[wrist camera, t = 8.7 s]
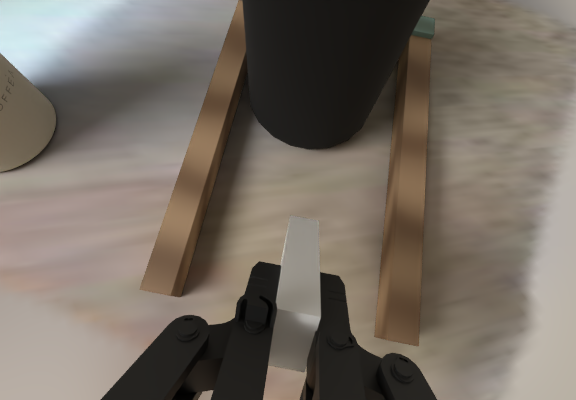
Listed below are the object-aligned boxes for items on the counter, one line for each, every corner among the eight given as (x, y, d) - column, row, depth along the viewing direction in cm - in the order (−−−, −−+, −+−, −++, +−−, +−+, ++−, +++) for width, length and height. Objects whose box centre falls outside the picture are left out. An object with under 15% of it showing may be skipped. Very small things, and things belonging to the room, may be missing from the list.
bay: (402, 342, 22) (422, 347, 19) (152, 291, 22) (136, 289, 19) (419, 44, 31) (434, 18, 29) (245, 9, 31) (243, -21, 29)
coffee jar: (321, 41, 31) (389, -290, 14) (390, 119, 28) (578, -167, 11) (227, 86, 28) (169, -250, 11) (294, 177, 26) (349, -80, 9)
